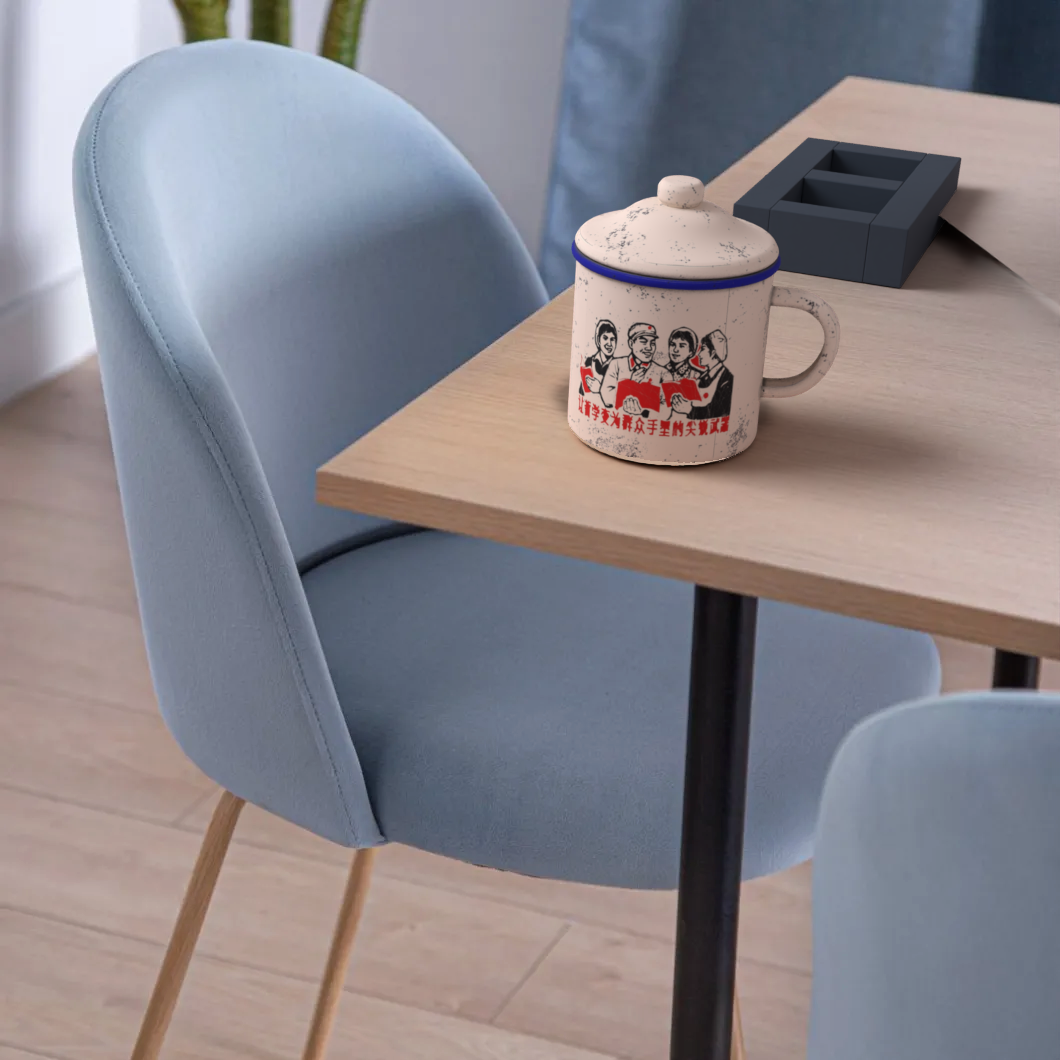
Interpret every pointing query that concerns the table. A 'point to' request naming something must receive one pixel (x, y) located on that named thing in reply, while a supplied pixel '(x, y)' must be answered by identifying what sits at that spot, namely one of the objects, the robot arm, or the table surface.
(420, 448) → the table surface
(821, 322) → the teacup with lid
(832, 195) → the divided rectangular tray
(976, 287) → the table surface
